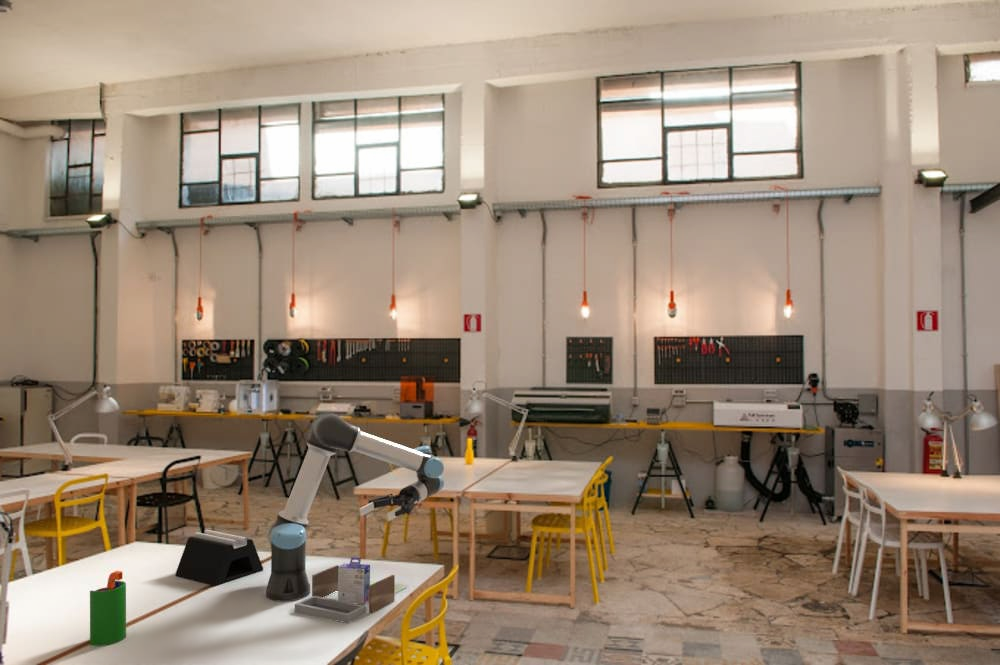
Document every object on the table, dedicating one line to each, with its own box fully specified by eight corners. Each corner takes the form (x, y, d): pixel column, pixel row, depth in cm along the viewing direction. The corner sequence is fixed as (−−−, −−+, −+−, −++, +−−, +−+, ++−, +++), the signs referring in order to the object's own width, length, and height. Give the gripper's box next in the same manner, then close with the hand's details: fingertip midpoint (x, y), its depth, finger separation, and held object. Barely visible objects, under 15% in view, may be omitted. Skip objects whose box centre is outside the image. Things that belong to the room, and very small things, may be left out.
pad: (350, 590, 266) (350, 589, 266) (370, 581, 277) (370, 580, 277) (387, 597, 259) (387, 596, 259) (406, 587, 269) (406, 587, 269)
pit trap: (294, 611, 245) (294, 604, 245) (313, 602, 253) (313, 595, 253) (348, 623, 235) (348, 615, 235) (366, 613, 243) (366, 606, 243)
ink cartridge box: (370, 599, 257) (371, 557, 257) (364, 605, 252) (365, 562, 252) (343, 597, 259) (344, 555, 259) (337, 602, 254) (337, 560, 254)
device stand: (224, 562, 301) (224, 525, 301) (263, 571, 289) (263, 532, 290) (175, 577, 282) (175, 537, 282) (214, 587, 270) (215, 545, 270)
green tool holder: (101, 632, 226) (102, 566, 227) (131, 632, 227) (132, 566, 227) (85, 646, 216) (86, 577, 217) (117, 645, 217) (118, 576, 217)
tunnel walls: (311, 601, 255) (312, 575, 255) (336, 590, 266) (336, 565, 266) (371, 613, 243) (371, 586, 244) (394, 601, 255) (394, 575, 255)
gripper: (438, 508, 279) (400, 529, 262) (390, 499, 294) (351, 519, 276) (436, 488, 278) (398, 509, 261) (387, 481, 292) (348, 500, 275)
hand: (373, 514), depth 269 cm, fingers open, 13 cm apart
